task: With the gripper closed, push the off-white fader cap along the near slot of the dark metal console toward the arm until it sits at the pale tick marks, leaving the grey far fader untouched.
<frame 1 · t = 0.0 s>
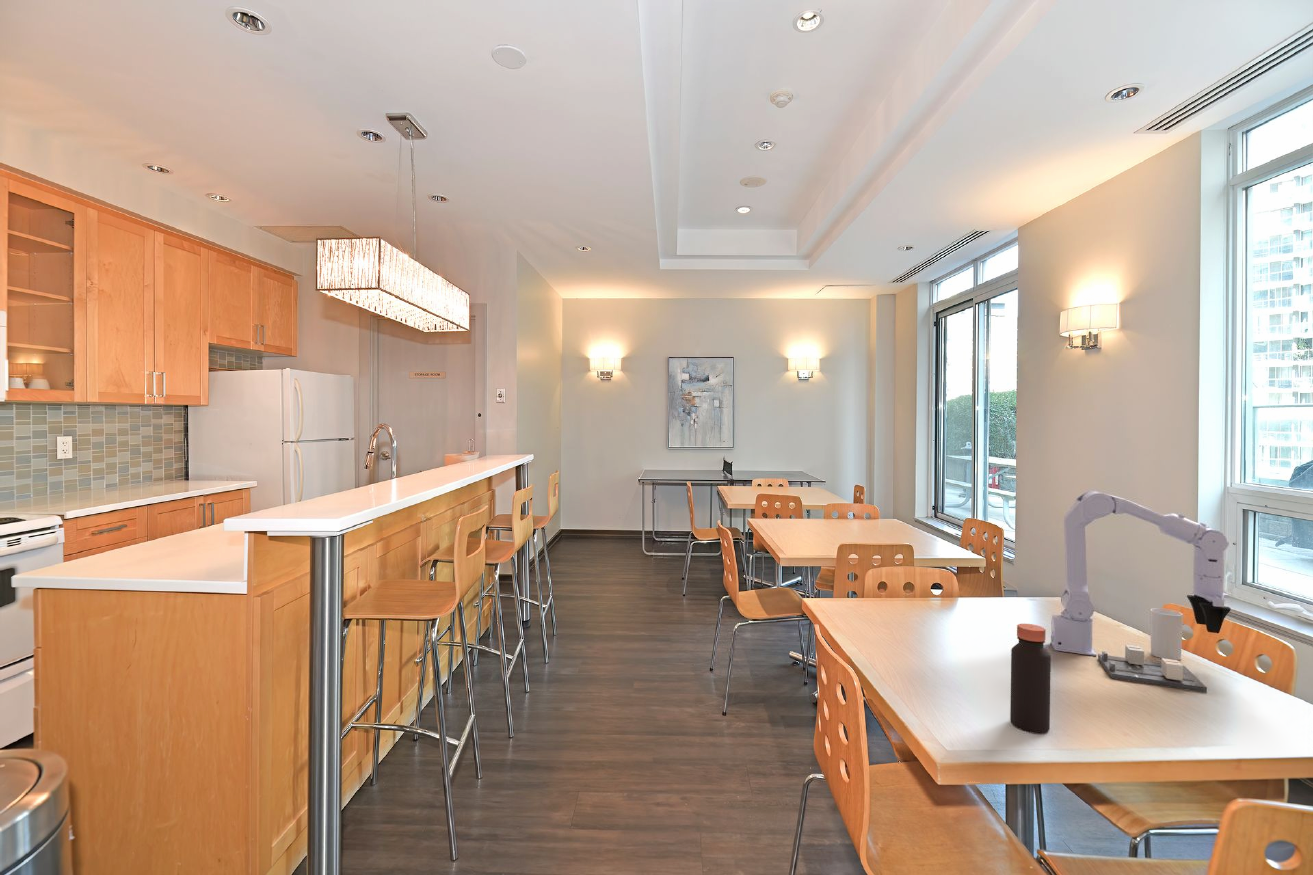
hand: (1207, 628, 158), 10 cm above the table, fingers open, 7 cm apart
fader far: (1134, 654, 157), point 3 cm above the table, slide at -2.0 cm
bottle: (1029, 727, 124), on the table
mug: (1163, 655, 167), on the table
console: (1148, 674, 152), on the table
fader near: (1171, 668, 147), point 3 cm above the table, slide at 3.5 cm
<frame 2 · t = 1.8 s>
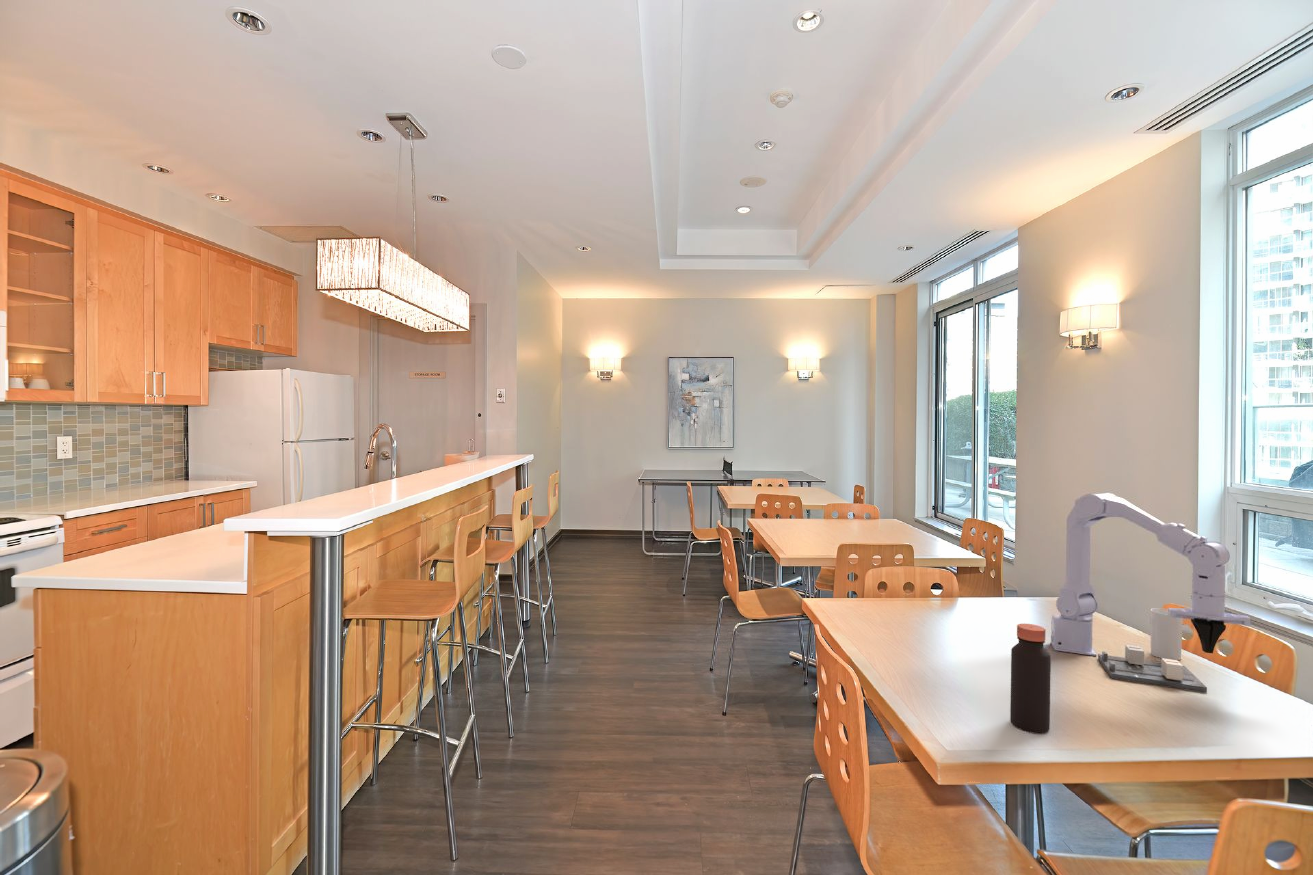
hand: (1207, 651, 144), 9 cm above the table, fingers closed
nothing on the table moved.
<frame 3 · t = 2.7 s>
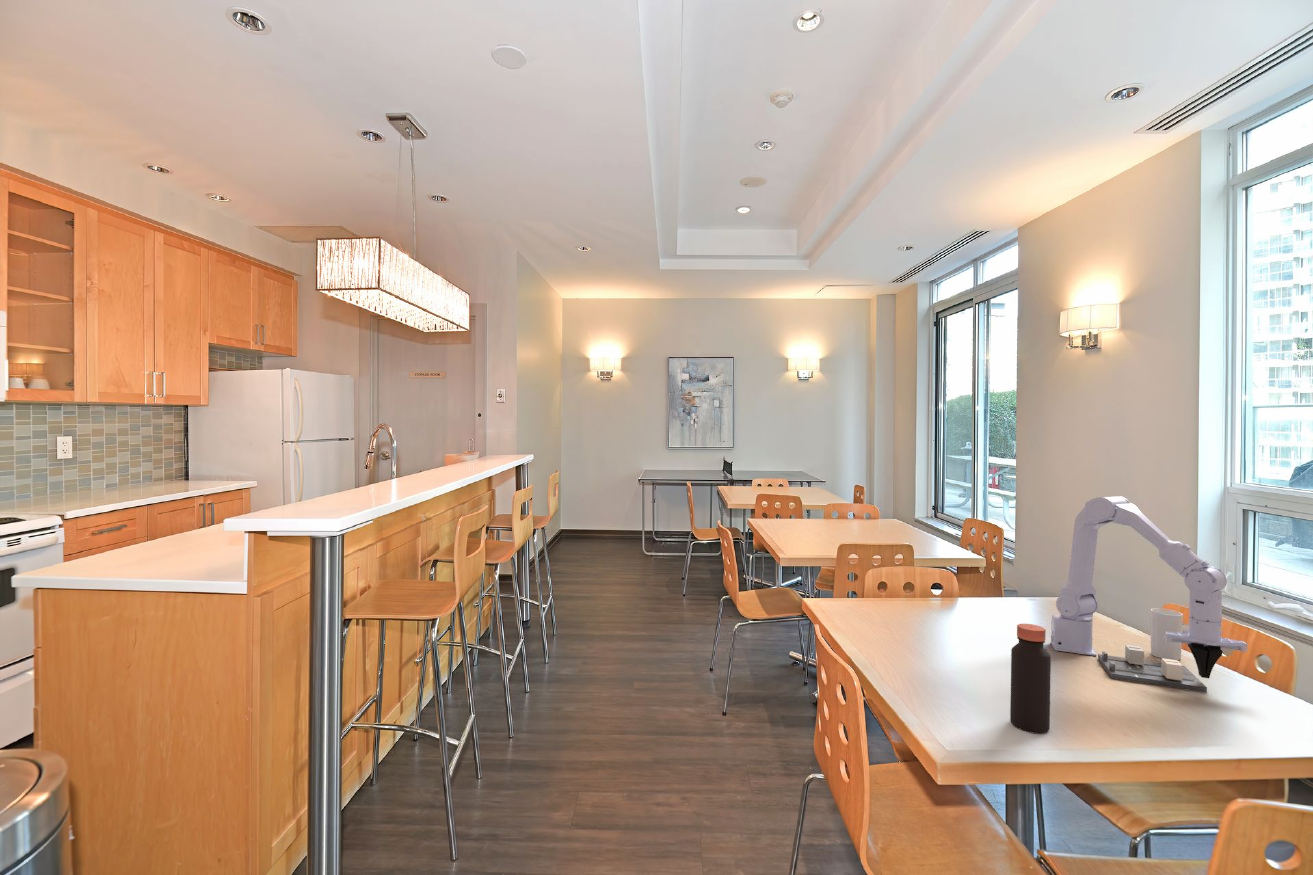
hand: (1204, 676, 145), 3 cm above the table, fingers closed
nothing on the table moved.
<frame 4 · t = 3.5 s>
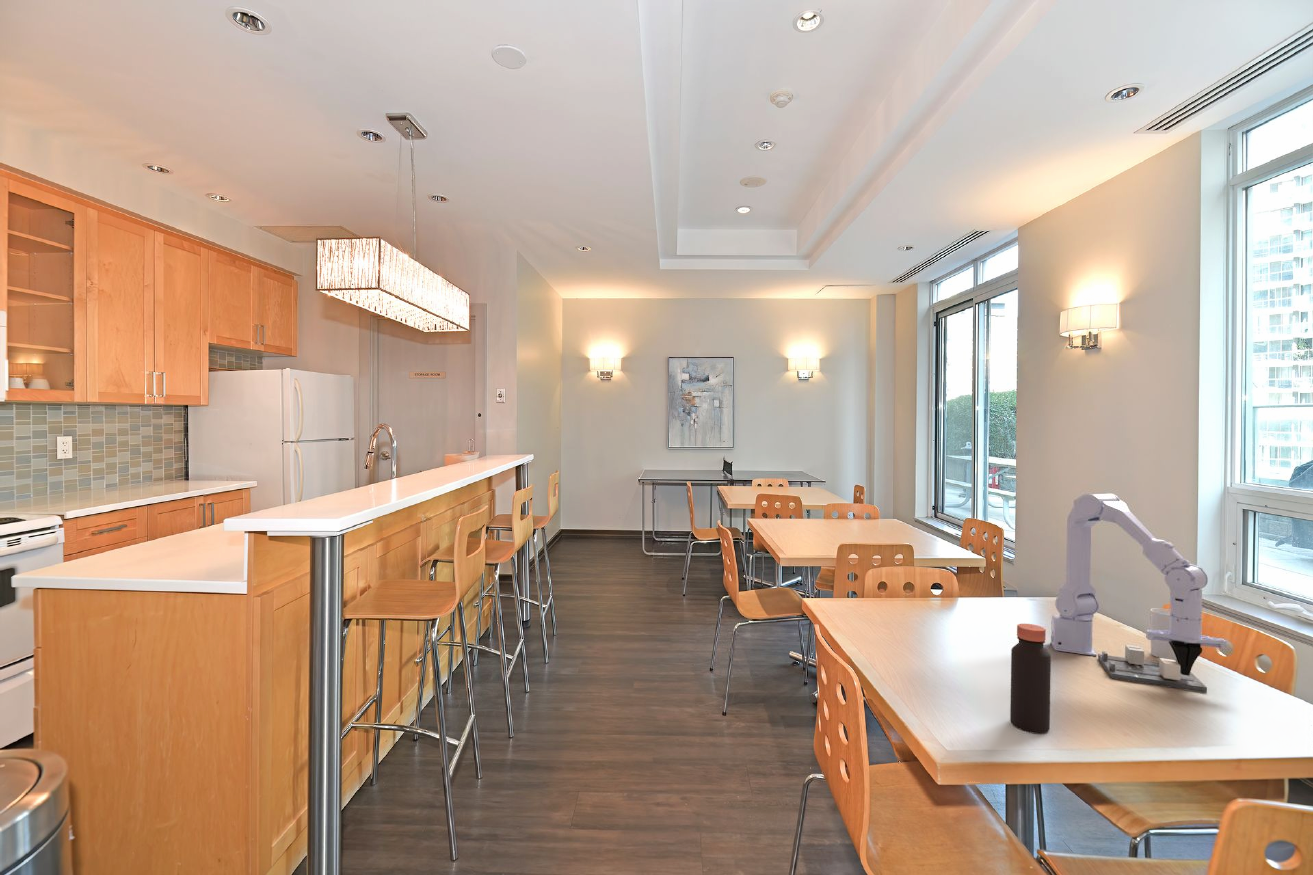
hand: (1184, 673, 146), 3 cm above the table, fingers closed
fader near: (1169, 668, 147), point 3 cm above the table, slide at 3.0 cm, touching gripper
everything else where it was.
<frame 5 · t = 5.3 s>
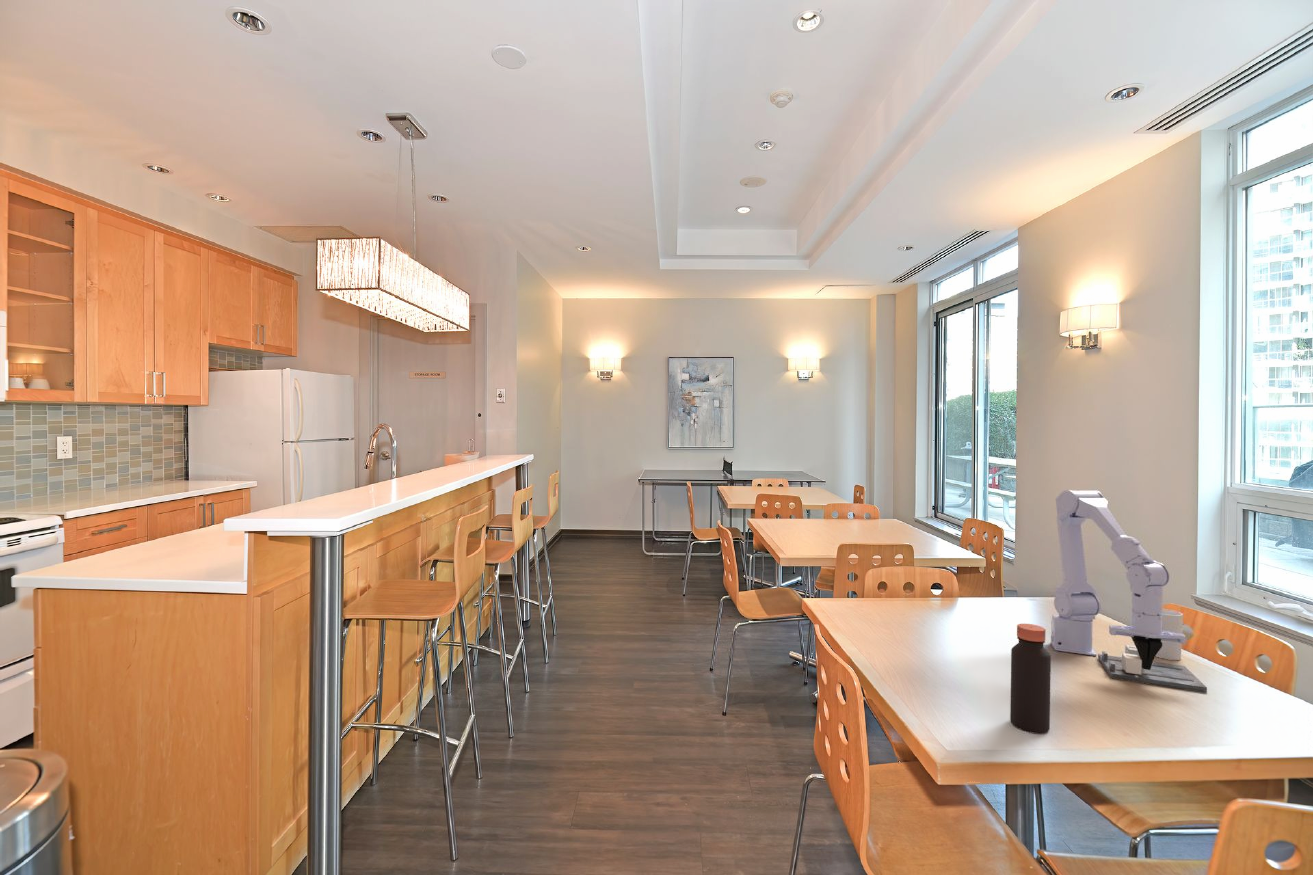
hand: (1145, 668, 149), 3 cm above the table, fingers closed
fader near: (1131, 663, 151), point 3 cm above the table, slide at -4.3 cm, touching gripper
everything else where it was.
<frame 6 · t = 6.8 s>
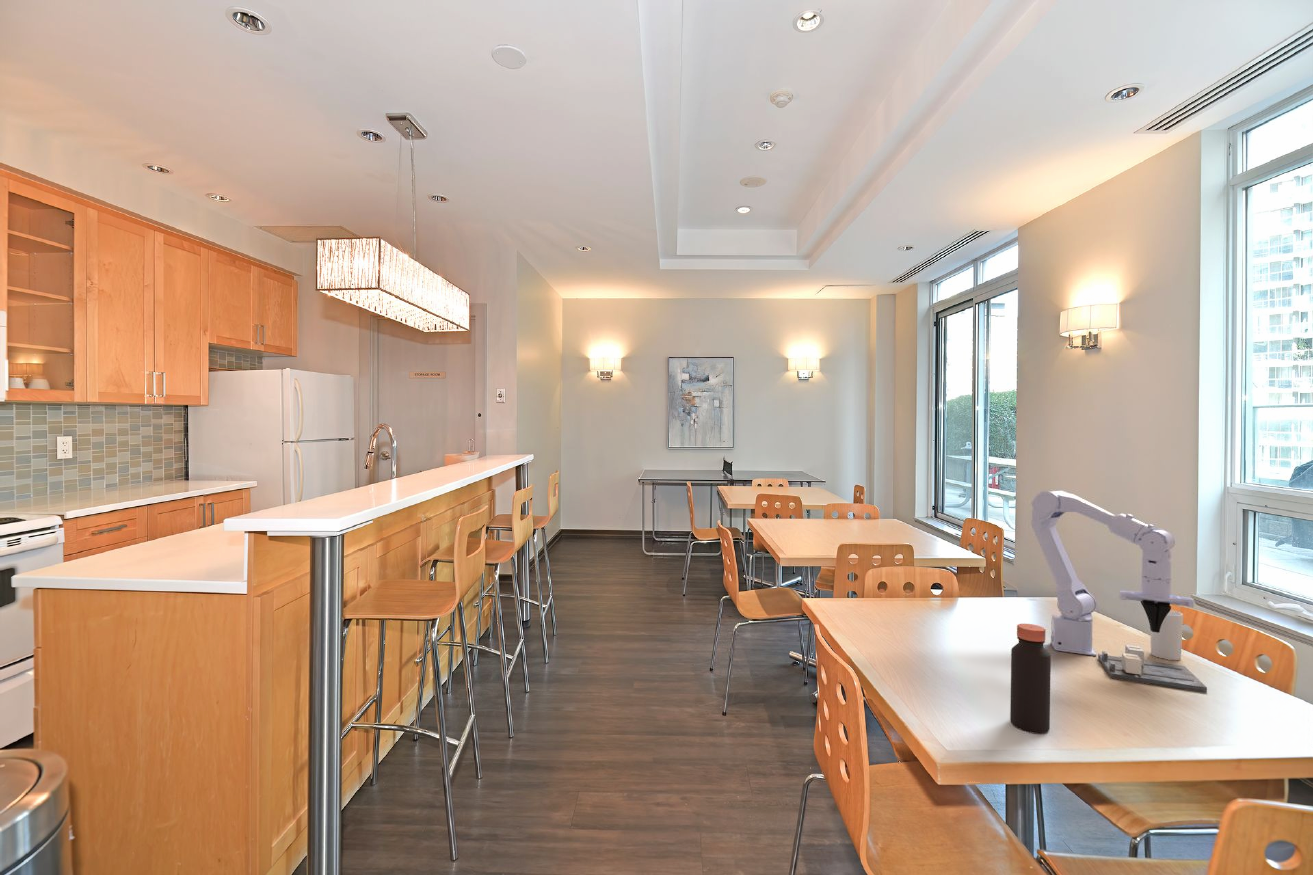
hand: (1154, 631, 155), 10 cm above the table, fingers closed
fader near: (1131, 663, 151), point 3 cm above the table, slide at -4.3 cm
everything else where it was.
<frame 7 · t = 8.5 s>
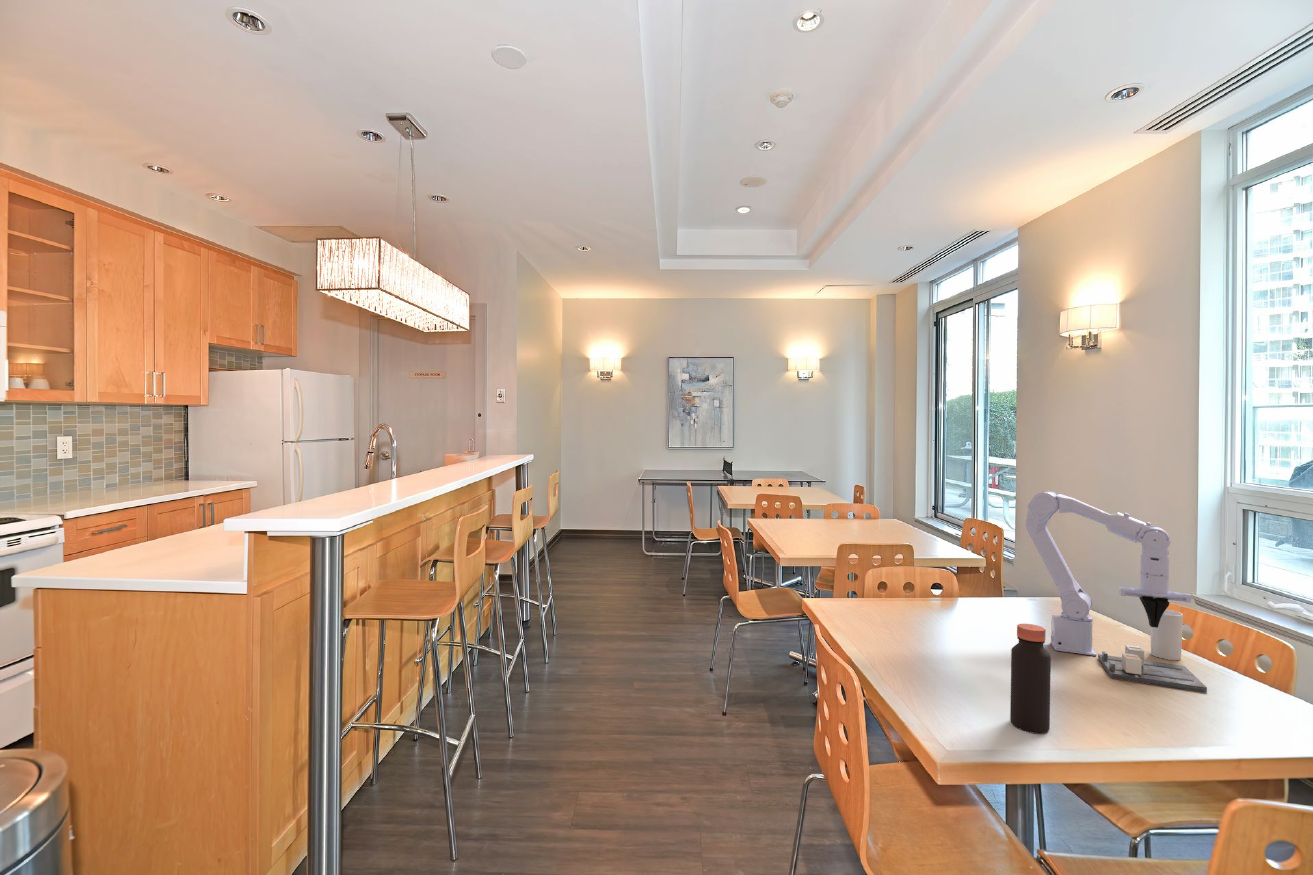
hand: (1153, 626, 159), 10 cm above the table, fingers closed
nothing on the table moved.
at the end: fader near slide at -4.3 cm; fader far slide at -2.0 cm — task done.
